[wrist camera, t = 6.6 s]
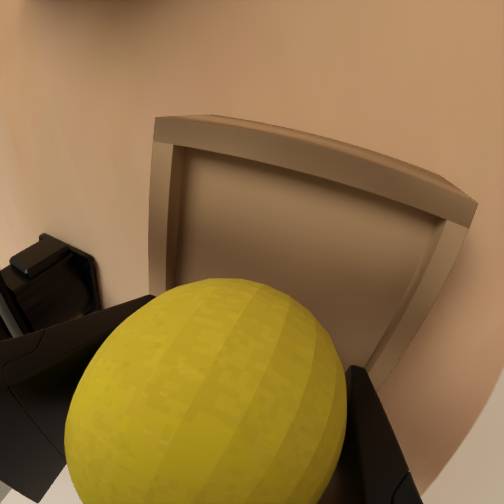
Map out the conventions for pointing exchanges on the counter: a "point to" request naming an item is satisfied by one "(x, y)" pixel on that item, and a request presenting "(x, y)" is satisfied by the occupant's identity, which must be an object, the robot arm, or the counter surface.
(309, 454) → the lemon
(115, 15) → the counter surface
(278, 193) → the walnut dish block
